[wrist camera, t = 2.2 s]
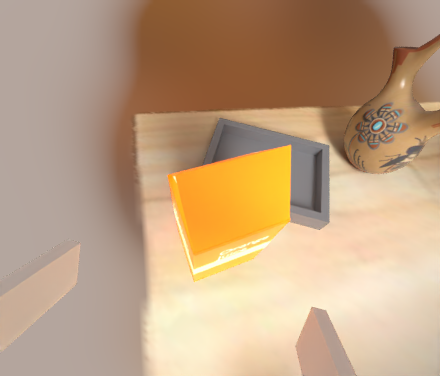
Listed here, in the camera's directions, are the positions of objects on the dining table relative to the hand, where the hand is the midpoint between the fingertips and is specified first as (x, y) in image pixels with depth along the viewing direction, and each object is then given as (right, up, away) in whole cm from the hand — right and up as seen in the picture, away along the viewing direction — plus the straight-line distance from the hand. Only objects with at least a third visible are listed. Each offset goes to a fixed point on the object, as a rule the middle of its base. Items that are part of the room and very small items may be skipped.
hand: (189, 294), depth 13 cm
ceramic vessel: (+28, +11, +31) cm, 43 cm away
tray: (+9, +8, +27) cm, 29 cm away
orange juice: (+1, -2, +20) cm, 20 cm away
